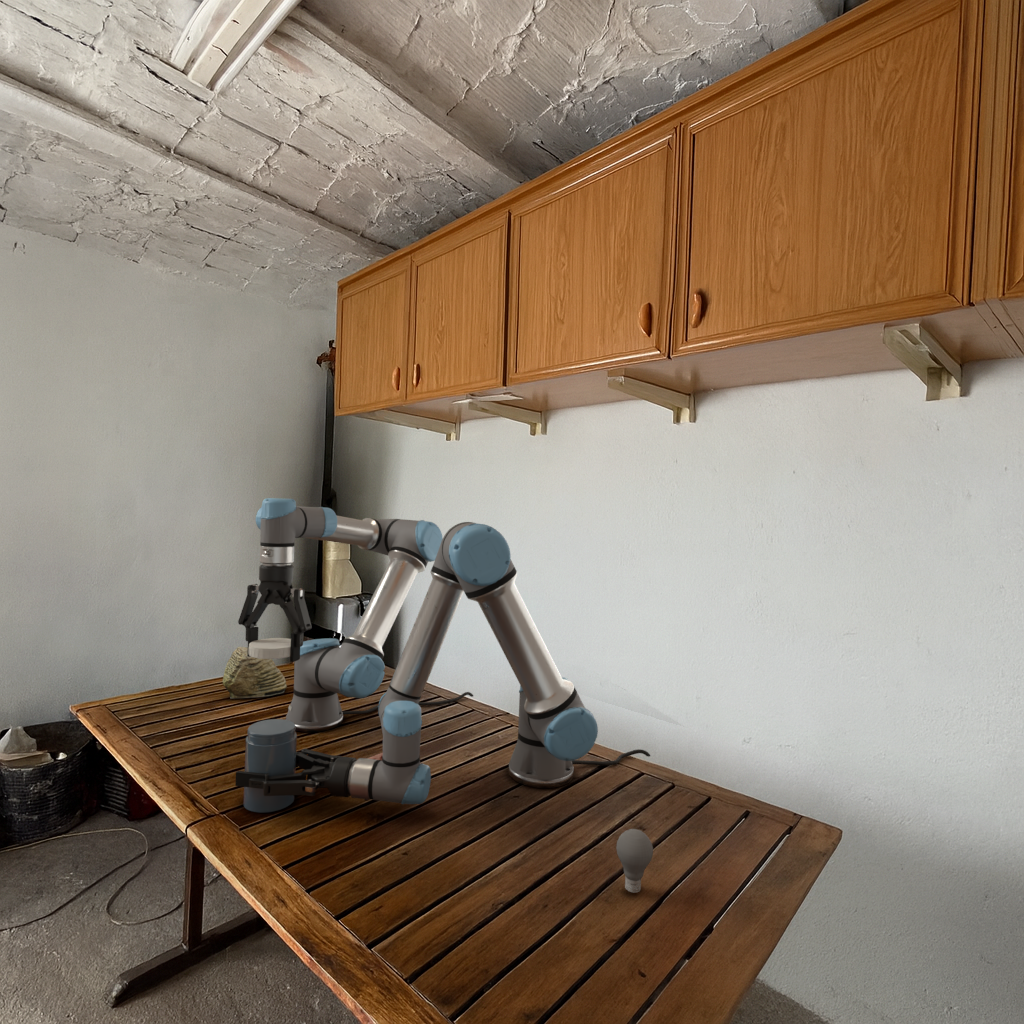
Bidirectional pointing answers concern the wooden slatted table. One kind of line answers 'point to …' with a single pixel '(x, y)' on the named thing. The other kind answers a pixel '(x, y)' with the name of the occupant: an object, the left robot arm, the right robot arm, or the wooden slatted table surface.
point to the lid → (270, 648)
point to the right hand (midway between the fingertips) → (250, 767)
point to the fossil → (252, 676)
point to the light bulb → (634, 857)
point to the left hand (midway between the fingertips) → (273, 657)
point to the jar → (269, 760)
